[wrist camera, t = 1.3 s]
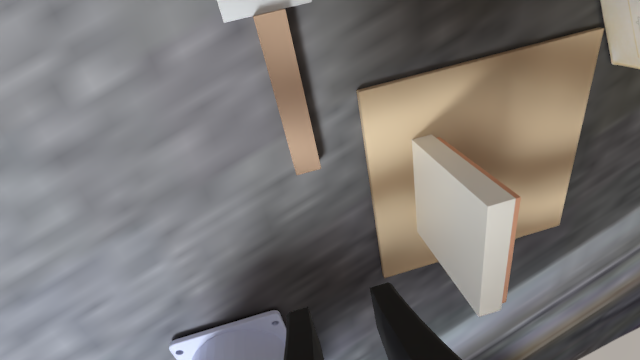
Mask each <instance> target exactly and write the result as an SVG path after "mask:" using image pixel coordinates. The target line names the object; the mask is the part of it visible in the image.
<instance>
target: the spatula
mask: <svg viewBox="0 0 640 360" xmlns="http://www.w3.org/2000/svg"><path fill="white" fill-rule="evenodd" d="M217 2H218V5H219V8H220V11H221V15H222V18H223V21H224V23H225V22H229V21H234V20H238V19H242V18H246V17H250V16H253V18H254V21H255V25H256V29H257V32H258V36H259V40H260V43H261V47H262V51H263V54H264V58H265V61H266V65H267V69H268V72H269V76H270V80H271V83H272V87H273V91H274V94H275V98H276V102H277V105H278V109H279V113H280V116H281V120H282V124H283V127H284V131H285V135H286V138H287V142H288V146H289V149H290V153H291V157H292V160H293V164H294V168H295V171H296V175H300V174H303V173H307V172H311V171H314V170H318V169H321V165H320V161H319V157H318V152H317V148H316V143H315V139H314V134H313V130H312V126H311V121H310V117H309V112H308V108H307V103H306V99H305V95H304V90H303V86H302V81H301V77H300V72H299V68H298V64H297V59H296V55H295V50H294V46H293V41H292V37H291V33H290V28H289V24H288V19H287V15H286V10H285V9H284V8H288V7H292V6H297V5H301V4H305V3H309V2H312V0H217Z"/></svg>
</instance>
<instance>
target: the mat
mask: <svg viewBox="0 0 640 360" xmlns="http://www.w3.org/2000/svg"><path fill="white" fill-rule="evenodd" d="M603 31H604V28H594V29H590V30H586V31H582V32H579V33H575V34H571V35H567V36H563V37H559V38H555V39H552V40H548V41H544V42H540V43H536V44H532V45H529V46H525V47H521V48H517V49H513V50H509V51H505V52H502V53H498V54H494V55H490V56H486V57H482V58H479V59H475V60H471V61H467V62H463V63H459V64H455V65H452V66H448V67H444V68H440V69H436V70H432V71H429V72H425V73H421V74H417V75H413V76H409V77H405V78H402V79H398V80H394V81H390V82H386V83H382V84H379V85H375V86H371V87H367V88H363V89H359V90H357V97H358V104H359V111H360V118H361V125H362V132H363V140H364V147H365V154H366V161H367V168H368V175H369V182H370V189H371V196H372V203H373V210H374V217H375V224H376V231H377V238H378V245H379V252H380V259H381V266H382V274H383V276H384V278H387V277H390V276H393V275H396V274H400V273H403V272H406V271H410V270H413V269H416V268H420V267H423V266H426V265H429V264H433V263H436V262H439V261H438V260H437V258H436V257H435V256H434V254H433V253H432V251H431V250H430V249H429V247H428V246H427V245H426V243H425V242H424V240H423V239H422V238H421V236H420V235H419V233H418V232H417V220H416V203H415V186H414V169H413V152H412V139H416V138H420V137H423V136H427V135H430V134H432V135H433V136H434V137H436V138H437V137H440V138H442V139H443V140H445V141H446V142H447V143H449V144H450V145H451V146H453V147H454V148H455V149H457V150H458V151H459V152H461V153H462V154H463V155H465V156H466V157H467V158H469V159H470V160H471V161H473V162H474V163H476V164H477V165H478V166H480V167H481V168H482V169H484V170H485V171H486V172H488V173H489V174H490V175H492V176H493V177H494V178H496V179H497V180H498V181H500V182H501V183H503V184H504V185H505V186H507V187H508V188H509V189H511V190H512V191H513V192H515V193H516V194H517V195H519V196H520V197H521V200H520V207H519V214H518V221H517V228H516V235H515V238H519V237H522V236H525V235H529V234H532V233H535V232H538V231H542V230H545V229H548V228H552V227H555V226H558V225H559V224H560V220H561V215H562V211H563V206H564V202H565V198H566V193H567V189H568V185H569V180H570V176H571V171H572V167H573V163H574V158H575V154H576V149H577V145H578V141H579V136H580V132H581V127H582V123H583V119H584V114H585V110H586V106H587V101H588V97H589V92H590V88H591V84H592V79H593V75H594V70H595V66H596V62H597V57H598V53H599V49H600V44H601V40H602V35H603Z"/></svg>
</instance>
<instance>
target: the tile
mask: <svg viewBox="0 0 640 360" xmlns="http://www.w3.org/2000/svg"><path fill="white" fill-rule="evenodd" d="M412 152H413V169H414V186H415V203H416V220H417V232H418V233H419V235H420V236H421V238H422V239H423V240H424V242H425V243H426V245H427V246H428V247H429V249H430V250H431V251H432V253H433V254H434V256H435V257H436V258H437V260H438V261H439V263H440V264H441V265H442V267H443V268H444V269H445V271H446V272H447V274H448V275H449V276H450V278H451V279H452V280H453V282H454V283H455V285H456V286H457V287H458V289H459V290H460V292H461V293H462V294H463V296H464V297H465V298H466V300H467V301H468V303H469V304H470V305H471V307H472V308H473V310H474V311H475V312H476V314H477V315H478V316H479V317H481V316H484V315H487V314H490V313H493V312H496V311H499V310H501V306H502V303H504V302H506V298H507V291H508V284H509V277H510V270H511V263H512V256H513V249H514V242H515V235H516V228H517V221H518V214H519V207H520V200H521V197H520V196H519V195H517V194H516V193H515V192H513V191H512V190H511V189H509V188H508V187H507V186H505V185H504V184H503V183H501V182H500V181H498V180H497V179H496V178H494V177H493V176H492V175H490V174H489V173H488V172H486V171H485V170H484V169H482V168H481V167H480V166H478V165H477V164H476V163H474V162H473V161H471V160H470V159H469V158H467V157H466V156H465V155H463V154H462V153H461V152H459V151H458V150H457V149H455V148H454V147H453V146H451V145H450V144H449V143H447V142H446V141H445V140H443V139H442V138H440V137H437V138H436V137H434V136H433V135H432V134H430V135H427V136H423V137H420V138H416V139H412Z"/></svg>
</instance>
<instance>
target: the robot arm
mask: <svg viewBox="0 0 640 360" xmlns="http://www.w3.org/2000/svg"><path fill="white" fill-rule="evenodd" d="M370 291H371V296H372V302H373V308H374V314H375V319H376V325H377V329H378V332H379V334H380V337H381V340H382V343H383V346H384V348H385V351H386V354H387V357H388V359H389V360H462V359H461V358H460V357H458V356H457V355H456V354H455V353H454V352H453V351H452V350H451V349H450V348H449V347H448V346H447V345H446V344H445V343H444V342H443V341H442V340H441V339H440V338H439V337H438V336H437V335H436V334H435V333H434V332H433V331H432V330H431V329H430V328H429V327H428V326H427V325H426V324H425V323H424V322H423V321H422V320H421V319H420V318H419V317H418V316H417V314H416V313H415V312H414V311H413V310H412V309H411V308H410V307H409V305H408V304H407V303H406V302H405V301H404V299H403V298H402V297H401V296H400V295H399V293H398V292H397V291H396V289H395V288H394V287H393V285H392V284H390V283H385V284H382V285H379V286H375V287H372V288H370ZM169 350H170V351H171V353H172V354H173V355H174V357H175V358H176V359H177V360H324V358H323V353H322V349H321V345H320V342H319V339H318V336H317V333H316V330H315V327H314V324H313V321H312V318H311V315H310V312H309V309H308V307H306V308H303V309H300V310H296V311H293V312H290V313H289V314H288V315H287V329H286V327H285V324H284V322H283V319H282V317H281V314H280V312H279V311H277V310H271V311H268V312H265V313H262V314H258V315H255V316H252V317H248V318H245V319H242V320H238V321H235V322H232V323H228V324H225V325H222V326H219V327H215V328H212V329H209V330H205V331H202V332H199V333H195V334H192V335H189V336H185V337H182V338H179V339H176V340H173V341H172V342H171V343H170V346H169Z"/></svg>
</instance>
